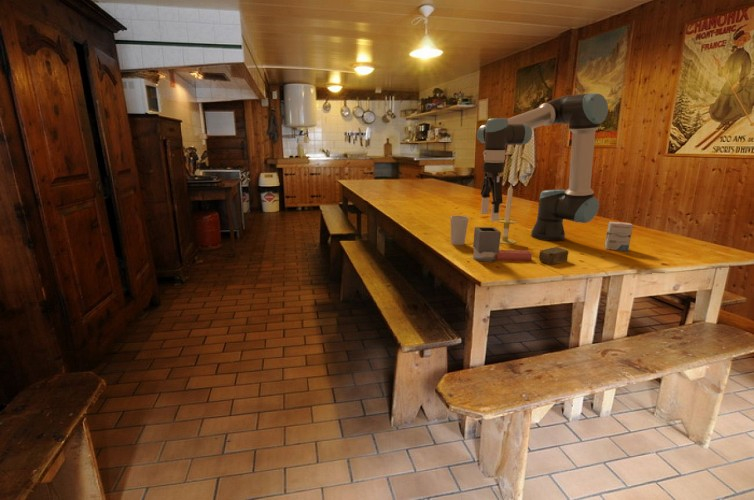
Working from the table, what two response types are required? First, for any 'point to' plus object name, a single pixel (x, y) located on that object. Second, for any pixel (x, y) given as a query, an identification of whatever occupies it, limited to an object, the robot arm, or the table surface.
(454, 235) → the cup
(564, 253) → the stone block
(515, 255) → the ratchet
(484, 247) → the socket
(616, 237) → the ink box
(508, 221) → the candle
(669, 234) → the table surface
